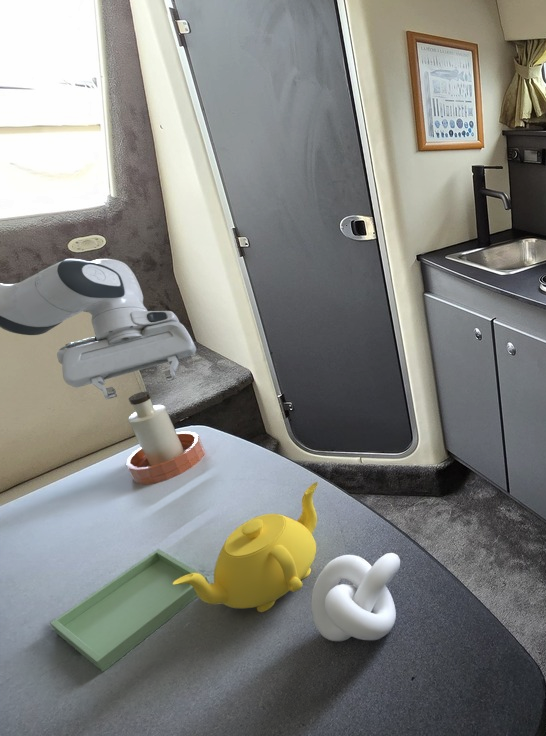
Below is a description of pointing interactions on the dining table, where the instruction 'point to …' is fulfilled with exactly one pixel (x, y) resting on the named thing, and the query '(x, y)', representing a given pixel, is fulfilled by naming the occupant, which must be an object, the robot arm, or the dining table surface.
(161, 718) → the dining table surface
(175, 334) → the robot arm
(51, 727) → the dining table surface
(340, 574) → the white knot
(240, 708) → the dining table surface
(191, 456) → the ring
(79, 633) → the tray
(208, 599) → the teapot
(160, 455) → the bottle
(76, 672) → the dining table surface
